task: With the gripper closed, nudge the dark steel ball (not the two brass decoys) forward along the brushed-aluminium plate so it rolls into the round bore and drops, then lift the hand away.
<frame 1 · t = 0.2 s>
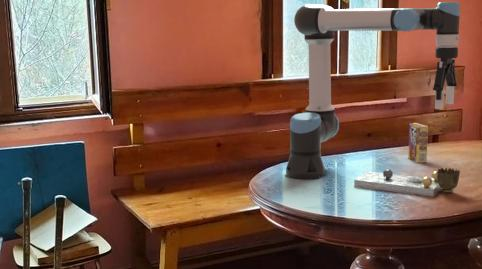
hand: (444, 106, 223), 28 cm above the table, fingers open, 13 cm apart
olive brown rounded bowl: (447, 193, 214), on the table
plate: (398, 186, 223), on the table
steel ball: (387, 173, 224), point 4 cm above the table, touching plate
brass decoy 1: (426, 181, 212), point 4 cm above the table, touching plate
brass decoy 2: (436, 176, 220), point 4 cm above the table, touching plate
candy box: (417, 160, 262), on the table
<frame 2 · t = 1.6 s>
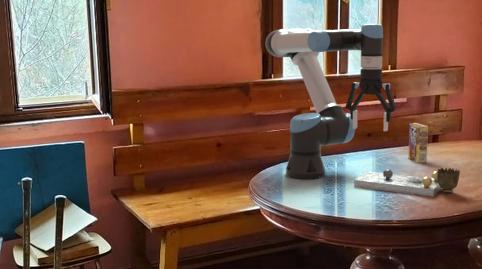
hand: (370, 129, 225), 20 cm above the table, fingers open, 11 cm apart
nothing on the table moved.
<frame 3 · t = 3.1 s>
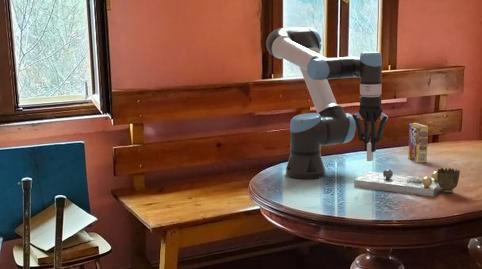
hand: (370, 160, 226), 9 cm above the table, fingers closed
nothing on the table moved.
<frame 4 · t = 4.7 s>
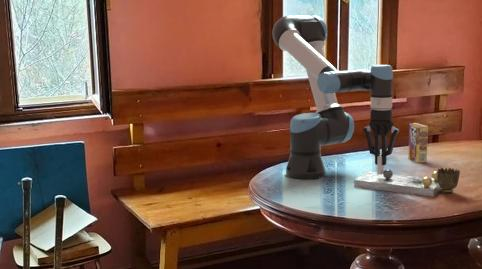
hand: (380, 173, 225), 4 cm above the table, fingers closed
nothing on the table moved.
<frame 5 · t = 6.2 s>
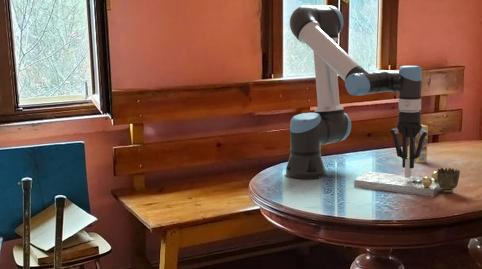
hand: (408, 176, 220), 4 cm above the table, fingers closed
steel ball: (419, 184, 219), point 2 cm above the table, tilted 73°
everything else where it was.
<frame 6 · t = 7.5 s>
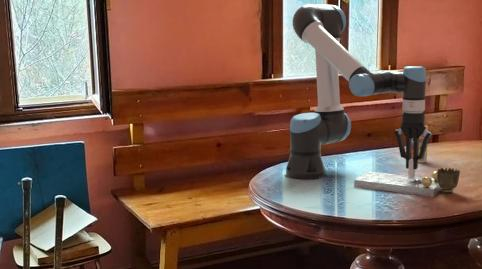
hand: (411, 177, 220), 4 cm above the table, fingers closed
steel ball: (417, 184, 219), point 2 cm above the table, tilted 45°
everything else where it was.
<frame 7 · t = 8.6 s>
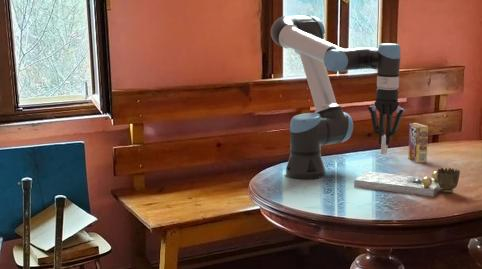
hand: (384, 153, 224), 12 cm above the table, fingers closed
nothing on the table moved.
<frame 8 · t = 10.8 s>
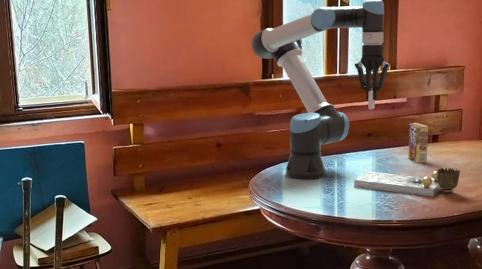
hand: (371, 108, 230), 26 cm above the table, fingers closed
steel ball: (418, 184, 219), point 2 cm above the table, tilted 56°
everything else where it was.
at the end: steel ball 0.2 cm from the target spot on the plate, point 1.7 cm above the plate's base; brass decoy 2 moved 0.1 cm from its start; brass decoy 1 moved 0.1 cm from its start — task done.
